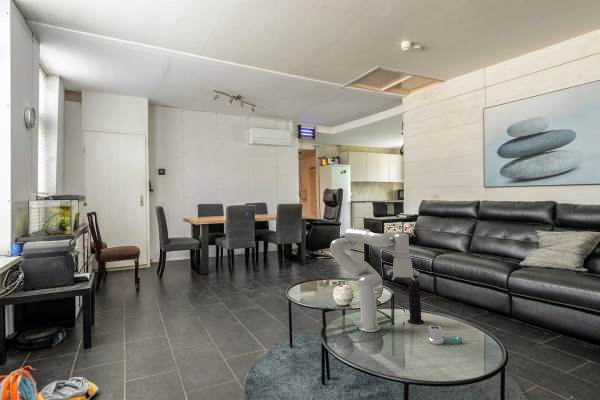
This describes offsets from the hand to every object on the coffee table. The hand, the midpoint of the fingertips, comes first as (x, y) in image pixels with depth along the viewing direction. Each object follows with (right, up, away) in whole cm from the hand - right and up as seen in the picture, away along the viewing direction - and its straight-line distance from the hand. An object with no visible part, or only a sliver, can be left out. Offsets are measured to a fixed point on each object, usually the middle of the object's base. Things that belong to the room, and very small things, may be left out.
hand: (403, 286), depth 181 cm
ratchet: (+19, -27, -9) cm, 34 cm away
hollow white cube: (+15, -25, -8) cm, 30 cm away
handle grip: (+15, -28, +23) cm, 39 cm away
